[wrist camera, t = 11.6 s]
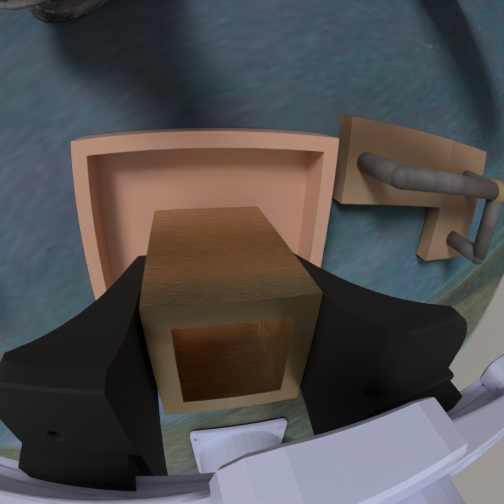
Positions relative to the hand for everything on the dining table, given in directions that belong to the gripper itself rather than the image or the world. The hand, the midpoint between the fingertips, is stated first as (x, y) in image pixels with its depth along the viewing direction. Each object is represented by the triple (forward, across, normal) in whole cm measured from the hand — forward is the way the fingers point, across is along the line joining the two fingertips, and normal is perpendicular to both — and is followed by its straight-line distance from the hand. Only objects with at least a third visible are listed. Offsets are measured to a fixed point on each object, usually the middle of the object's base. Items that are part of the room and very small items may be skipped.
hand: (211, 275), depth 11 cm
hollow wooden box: (+2, 0, 0) cm, 2 cm away
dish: (+3, 0, 0) cm, 3 cm away
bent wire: (+3, -11, -2) cm, 12 cm away
